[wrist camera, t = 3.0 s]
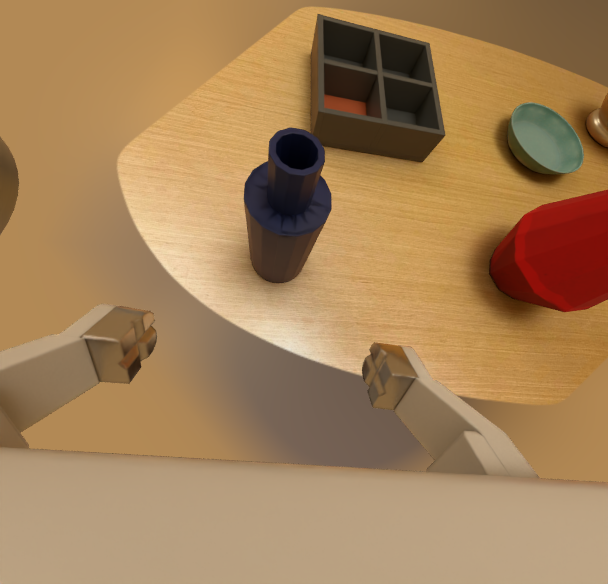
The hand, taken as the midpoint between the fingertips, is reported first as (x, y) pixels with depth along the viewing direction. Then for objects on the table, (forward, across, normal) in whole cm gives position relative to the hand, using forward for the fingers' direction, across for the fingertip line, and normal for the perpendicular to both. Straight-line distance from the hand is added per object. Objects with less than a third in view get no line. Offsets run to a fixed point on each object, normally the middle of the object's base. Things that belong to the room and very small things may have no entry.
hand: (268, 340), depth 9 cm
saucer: (+41, -42, -16) cm, 61 cm away
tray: (+40, -10, -15) cm, 44 cm away
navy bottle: (+20, 0, +5) cm, 21 cm away
